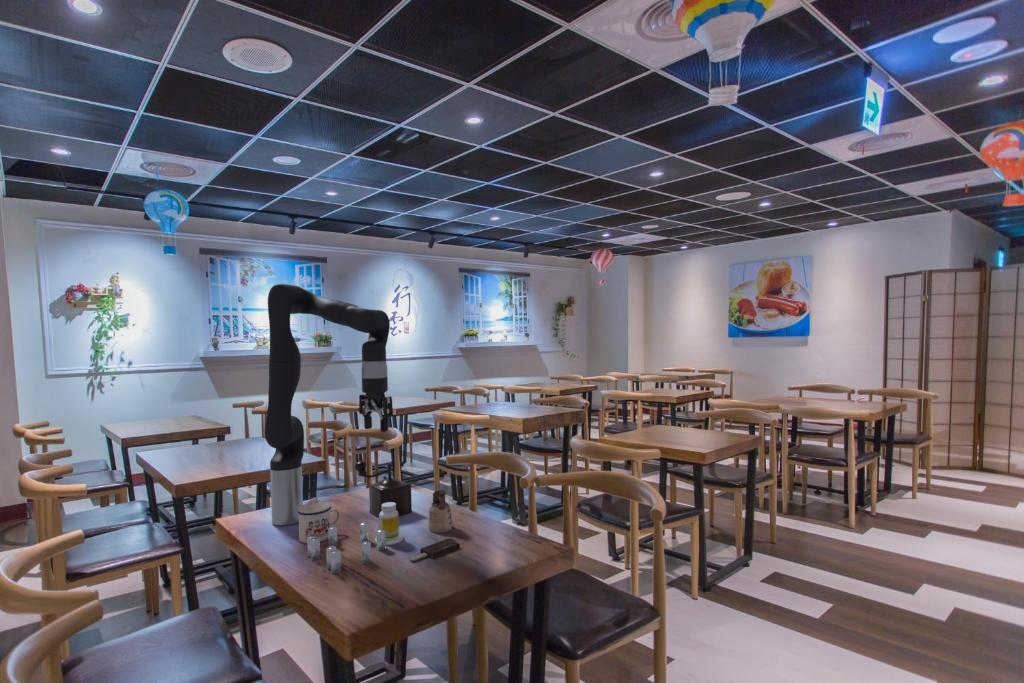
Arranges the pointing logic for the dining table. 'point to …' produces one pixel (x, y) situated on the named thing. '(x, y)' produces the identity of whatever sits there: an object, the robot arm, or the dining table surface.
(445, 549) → the ice cream bar
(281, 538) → the dining table surface
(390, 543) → the saucer
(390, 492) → the coffee grinder
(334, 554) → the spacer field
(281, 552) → the dining table surface
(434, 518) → the figurine
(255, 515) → the dining table surface
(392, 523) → the supplement bottle
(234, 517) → the dining table surface
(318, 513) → the teacup with lid
